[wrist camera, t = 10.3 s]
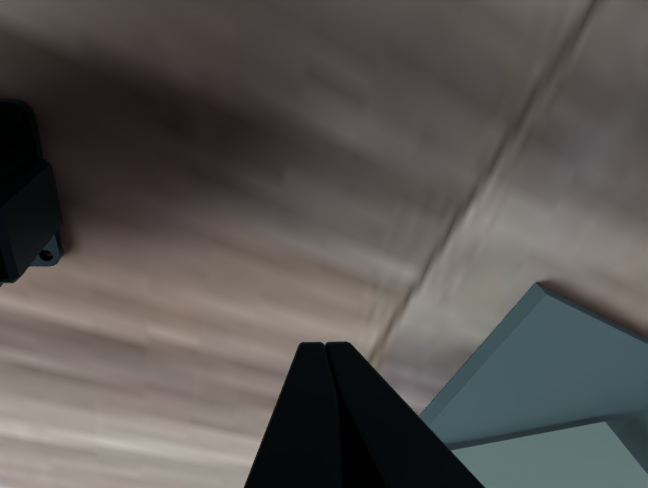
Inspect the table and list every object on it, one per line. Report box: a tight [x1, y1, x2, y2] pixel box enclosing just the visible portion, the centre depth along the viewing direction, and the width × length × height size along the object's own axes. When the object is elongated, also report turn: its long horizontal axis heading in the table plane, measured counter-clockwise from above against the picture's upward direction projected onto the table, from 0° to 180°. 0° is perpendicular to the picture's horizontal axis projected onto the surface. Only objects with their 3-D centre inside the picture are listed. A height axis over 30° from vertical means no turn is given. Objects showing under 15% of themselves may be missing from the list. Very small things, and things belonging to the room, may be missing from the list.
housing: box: [419, 283, 648, 474], centre depth 26 cm, size 13×13×4 cm
